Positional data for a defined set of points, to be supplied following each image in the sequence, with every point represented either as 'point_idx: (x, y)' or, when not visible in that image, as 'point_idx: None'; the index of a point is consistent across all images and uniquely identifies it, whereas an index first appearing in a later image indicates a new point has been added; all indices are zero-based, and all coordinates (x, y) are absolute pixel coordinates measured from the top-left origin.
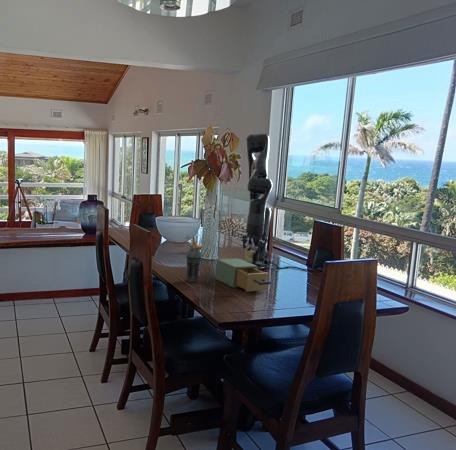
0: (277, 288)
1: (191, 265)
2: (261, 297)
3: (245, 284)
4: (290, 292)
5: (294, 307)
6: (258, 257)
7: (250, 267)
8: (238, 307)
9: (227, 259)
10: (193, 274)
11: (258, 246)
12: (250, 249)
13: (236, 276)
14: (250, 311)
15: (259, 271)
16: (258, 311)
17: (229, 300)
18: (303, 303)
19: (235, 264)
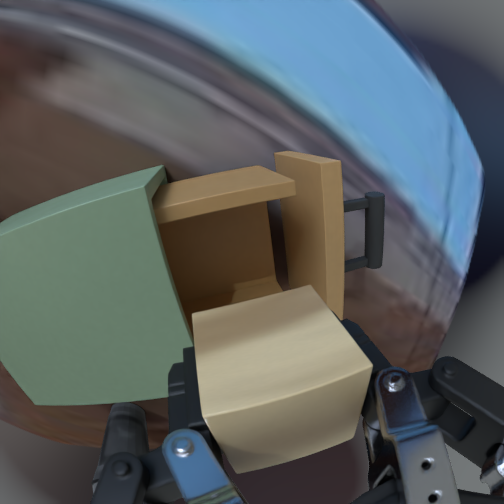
0: (225, 45)
1: None
2: (353, 228)
3: None
4: (301, 23)
5: (449, 162)
6: (336, 319)
7: (166, 261)
8: (396, 341)
9: (8, 356)
10: (147, 438)
11: (470, 452)
12: (210, 452)
13: None
14: (424, 318)
15: (251, 203)
16: (433, 298)
17: None
18: (428, 92)
19: (132, 367)
